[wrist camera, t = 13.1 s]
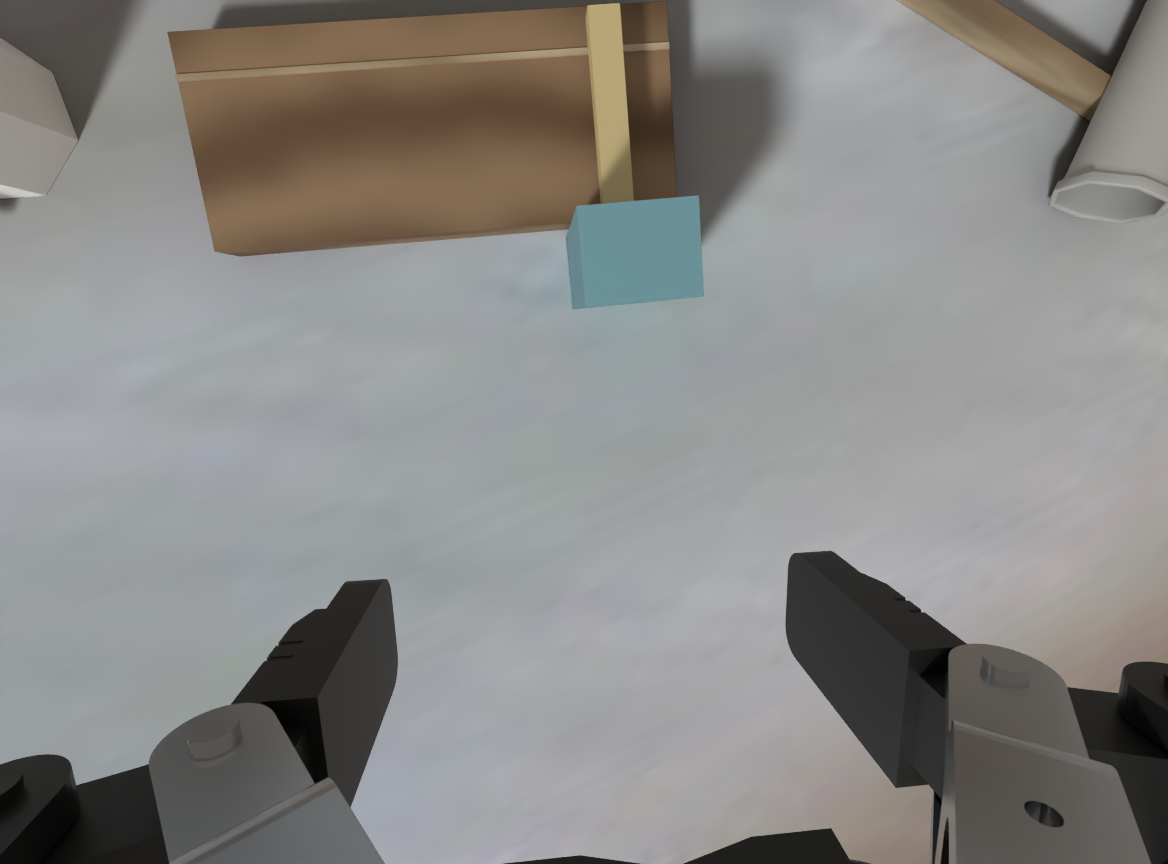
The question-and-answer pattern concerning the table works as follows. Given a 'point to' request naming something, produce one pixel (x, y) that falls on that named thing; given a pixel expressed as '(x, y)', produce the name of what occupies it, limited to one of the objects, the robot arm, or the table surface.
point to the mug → (30, 126)
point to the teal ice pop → (626, 201)
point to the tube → (1126, 135)
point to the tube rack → (1020, 49)
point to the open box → (413, 126)
